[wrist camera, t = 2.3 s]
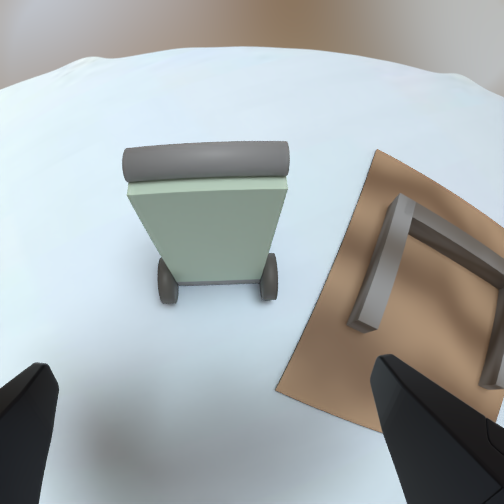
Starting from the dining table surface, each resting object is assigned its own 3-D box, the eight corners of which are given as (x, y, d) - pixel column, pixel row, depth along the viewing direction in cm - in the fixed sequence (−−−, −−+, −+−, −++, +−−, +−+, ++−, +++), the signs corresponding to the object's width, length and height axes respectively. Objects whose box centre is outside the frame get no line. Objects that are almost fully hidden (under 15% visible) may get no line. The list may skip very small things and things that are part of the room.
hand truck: (273, 303, 22) (326, 214, 9) (166, 307, 21) (87, 223, 9) (266, 223, 24) (298, 82, 12) (168, 226, 23) (118, 90, 11)
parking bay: (478, 459, 18) (497, 463, 15) (275, 390, 20) (280, 393, 17) (525, 247, 25) (540, 238, 23) (375, 150, 27) (386, 133, 25)
